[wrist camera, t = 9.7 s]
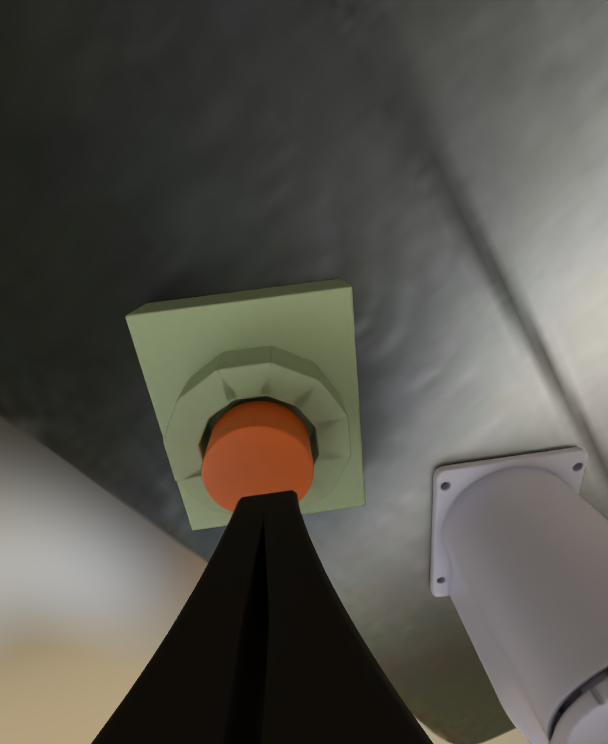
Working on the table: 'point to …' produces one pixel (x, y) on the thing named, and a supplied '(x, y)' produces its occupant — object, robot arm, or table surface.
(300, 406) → the button block
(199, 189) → the table surface
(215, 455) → the button
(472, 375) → the table surface
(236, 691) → the robot arm
